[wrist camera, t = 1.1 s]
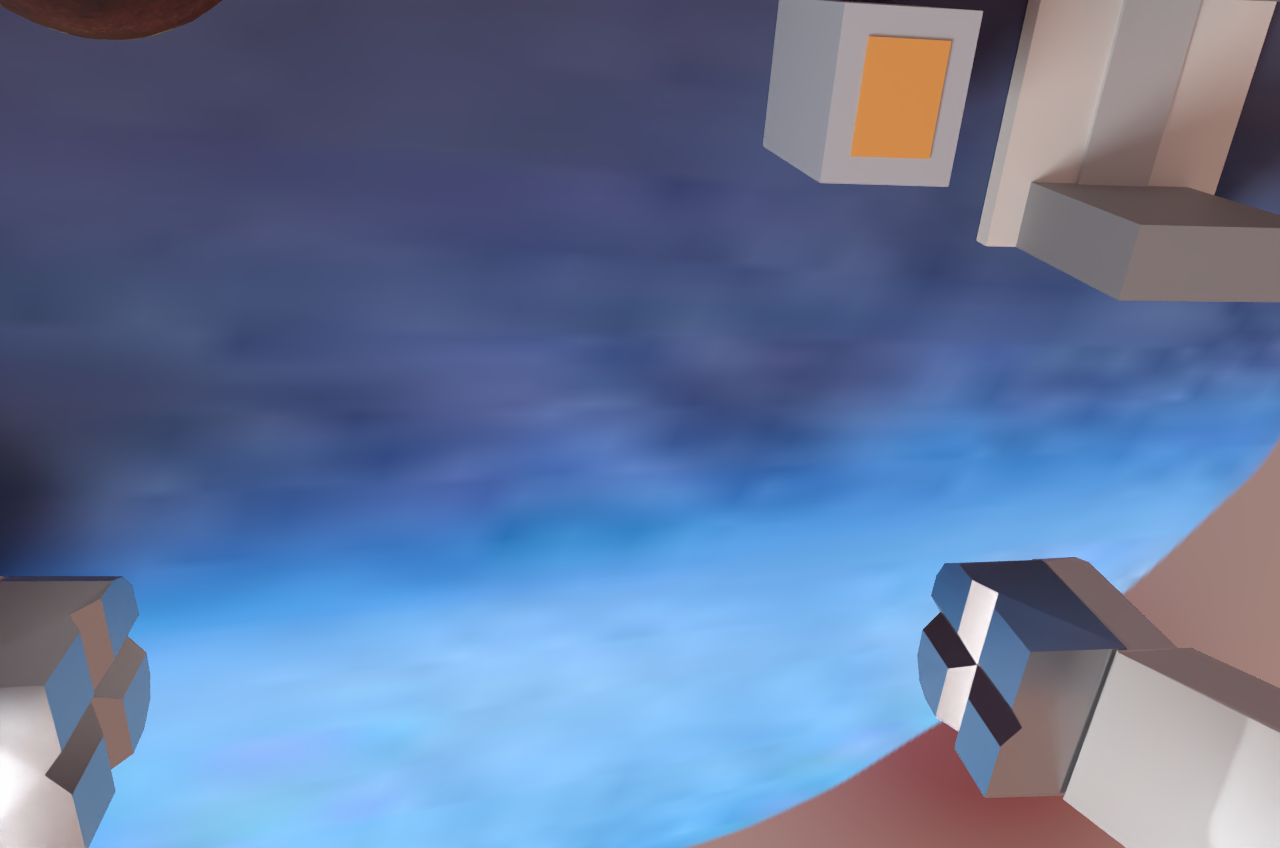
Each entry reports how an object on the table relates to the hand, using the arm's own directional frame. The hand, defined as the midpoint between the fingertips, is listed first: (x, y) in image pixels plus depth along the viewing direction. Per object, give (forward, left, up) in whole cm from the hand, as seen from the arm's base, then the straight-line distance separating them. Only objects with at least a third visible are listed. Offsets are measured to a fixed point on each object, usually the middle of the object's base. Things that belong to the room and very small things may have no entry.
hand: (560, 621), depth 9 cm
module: (-3, +14, -33) cm, 36 cm away
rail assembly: (-3, +28, -33) cm, 43 cm away
